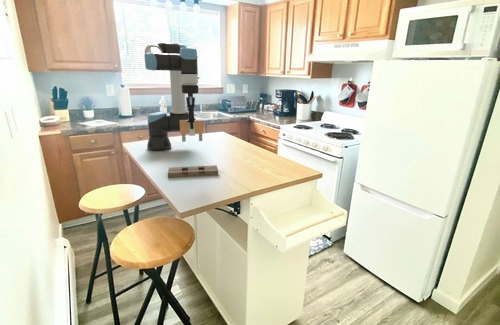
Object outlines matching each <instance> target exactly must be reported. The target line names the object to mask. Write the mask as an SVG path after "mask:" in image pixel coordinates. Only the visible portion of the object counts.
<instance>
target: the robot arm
mask: <svg viewBox="0 0 500 325" xmlns="http://www.w3.org/2000/svg"><path fill="white" fill-rule="evenodd" d="M198 57H199V56H198V52H197V49H196V48H194V47H187V45H186V44H184V43H180V42H162V41H157V42H156V41H155V42H153V43H150V44H148V45H147V46H146V47H145V48H144V66H145V69H146V70H148V71H169V81H170V95H171V96H170V97H171V98H170V99H171V109H170V110H169V113H167V112H166V111H158V112H151V113H149V114H148V115H147V127H148V128H147V129H148V141H147V144H146V147H147V150H148V151H152V152H163V150H164V151H167V150H170V149H171V148H172V143H171V140H170V139H169V135H168V134H169V133H177V132H179V133H180V120H189V121H187V122H189V133H188V135H189V137H192V136H196V133H195V122H194V121H195V120H196V118H195V107H196V106H195V105H196V104H195V101H196V97H194V94H199V85H198V84H199V80H200V77H199V76H198V75H199V72H198V71H199V70H198ZM186 94H187V96H186ZM186 107H187V108H186Z"/></svg>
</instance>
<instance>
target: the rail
mask: <svg viewBox="0 0 500 325" xmlns="http://www.w3.org/2000/svg"><path fill="white" fill-rule="evenodd" d="M209 176H211V177H213V176H219V168H218V165H215V164H214V165H198V166H197V165H196V166H193V165H191V166H171V167H168V170H167V179H172V178H173V179H174V178H175V179H177V178H188V177H190V178H194V177H195V178H196V177H209Z"/></svg>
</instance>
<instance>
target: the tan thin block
mask: <svg viewBox="0 0 500 325" xmlns="http://www.w3.org/2000/svg"><path fill="white" fill-rule="evenodd" d="M187 121H189V120H180V132H179V134H180V135H181V141H182V142H183V143H184V142H186V138H187V137H186V134H189V122H187ZM194 122H195V134H198V141H199V142H203V134H204V132H205V131H204V119H195V121H194Z"/></svg>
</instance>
